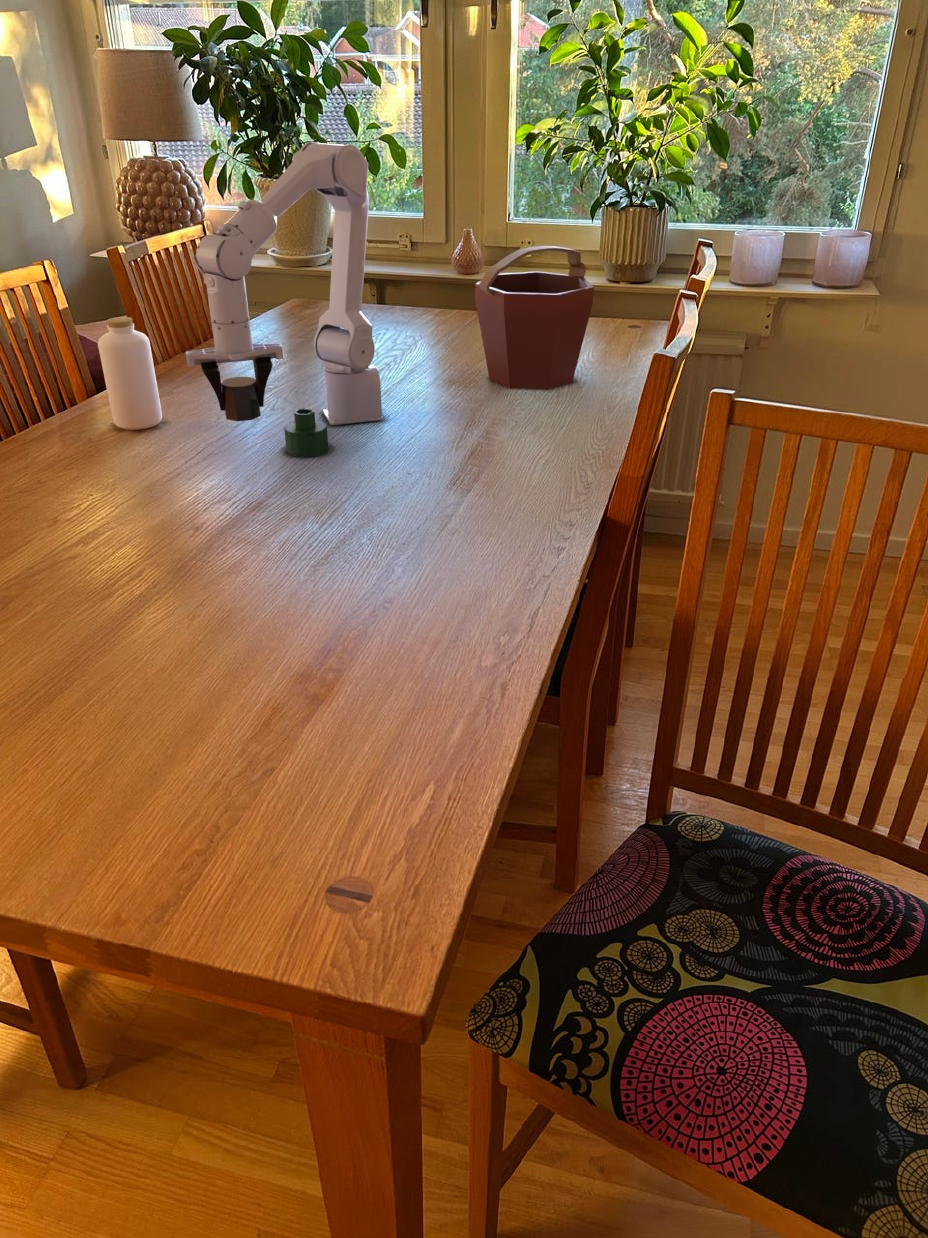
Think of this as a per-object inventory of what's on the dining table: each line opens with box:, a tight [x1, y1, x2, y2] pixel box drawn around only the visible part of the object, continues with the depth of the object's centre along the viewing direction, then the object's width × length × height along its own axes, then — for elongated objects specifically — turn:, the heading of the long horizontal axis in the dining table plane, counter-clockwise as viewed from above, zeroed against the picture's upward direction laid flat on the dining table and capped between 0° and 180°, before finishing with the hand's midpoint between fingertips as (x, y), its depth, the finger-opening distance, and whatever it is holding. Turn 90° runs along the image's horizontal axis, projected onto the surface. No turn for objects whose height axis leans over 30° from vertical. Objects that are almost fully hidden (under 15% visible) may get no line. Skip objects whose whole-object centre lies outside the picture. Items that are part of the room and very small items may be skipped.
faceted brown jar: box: [221, 376, 262, 422], centre depth 147 cm, size 5×5×6 cm
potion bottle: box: [97, 316, 163, 431], centre depth 159 cm, size 8×8×18 cm
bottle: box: [283, 407, 329, 458], centre depth 151 cm, size 7×7×6 cm
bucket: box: [474, 245, 595, 391], centre depth 182 cm, size 24×22×25 cm
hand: (241, 406), depth 148 cm, fingers closed on faceted brown jar, 5 cm apart
